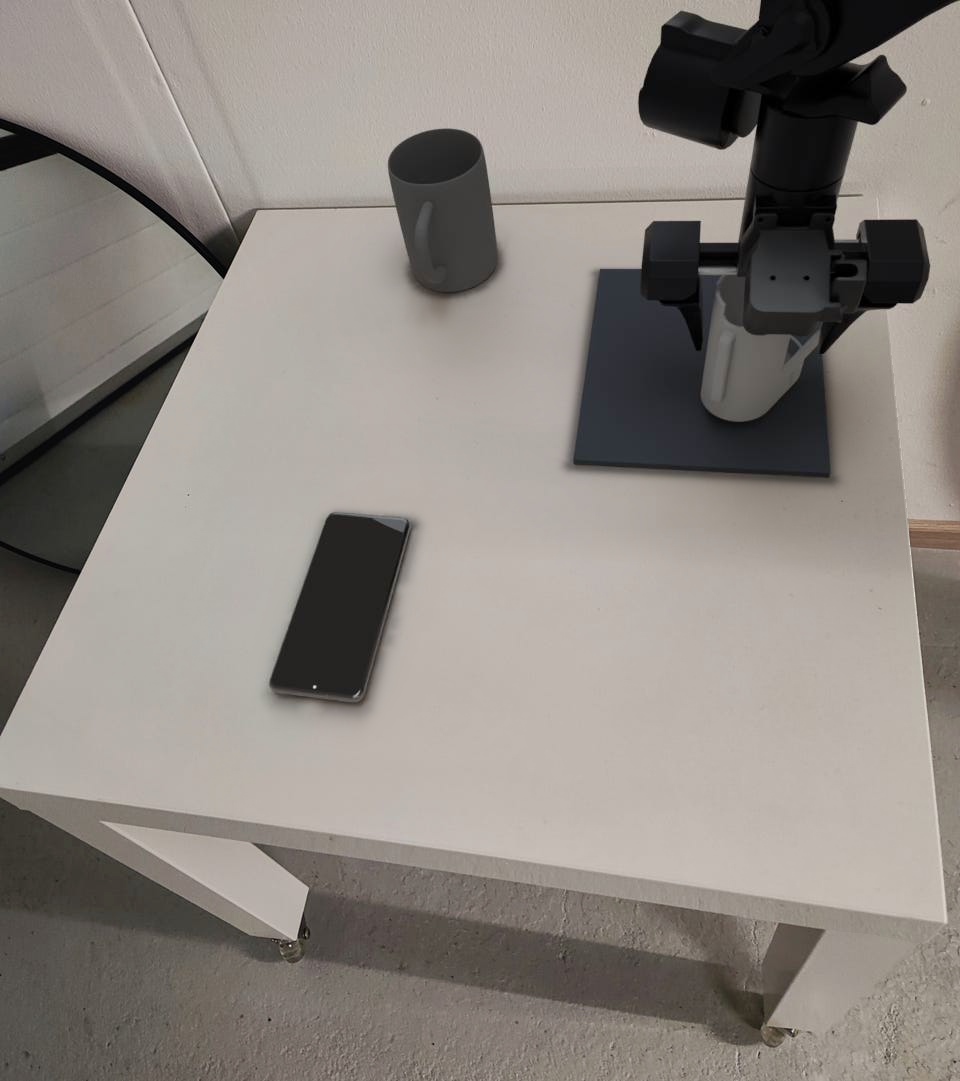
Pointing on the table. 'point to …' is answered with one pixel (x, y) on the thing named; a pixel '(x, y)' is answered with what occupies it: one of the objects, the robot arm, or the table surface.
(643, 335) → the mat
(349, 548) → the smartphone
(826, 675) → the table surface
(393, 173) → the mug
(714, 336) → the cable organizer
